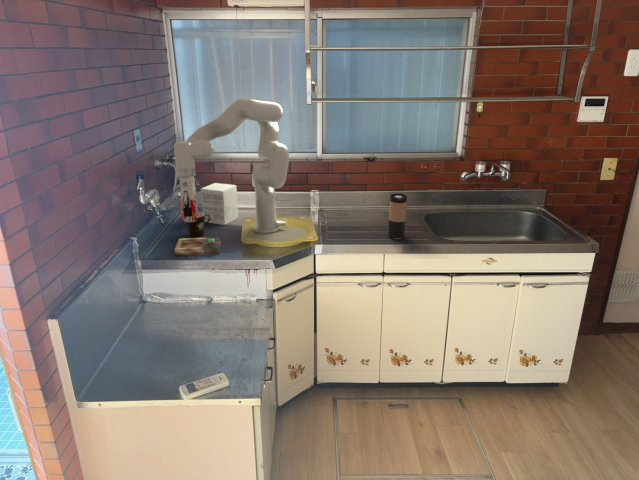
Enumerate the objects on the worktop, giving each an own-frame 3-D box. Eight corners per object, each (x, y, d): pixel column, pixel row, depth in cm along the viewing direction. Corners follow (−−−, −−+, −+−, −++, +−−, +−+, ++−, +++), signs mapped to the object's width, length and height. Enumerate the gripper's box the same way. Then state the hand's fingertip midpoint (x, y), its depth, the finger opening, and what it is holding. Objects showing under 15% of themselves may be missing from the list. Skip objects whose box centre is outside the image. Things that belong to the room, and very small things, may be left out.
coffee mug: (189, 239, 226) (187, 218, 222) (186, 233, 233) (184, 213, 230) (214, 236, 230) (213, 215, 226) (210, 230, 237) (209, 210, 234)
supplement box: (216, 214, 261) (214, 182, 255) (238, 217, 256) (237, 184, 250) (202, 222, 249) (199, 188, 243) (225, 225, 245) (223, 191, 239)
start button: (215, 246, 212) (215, 238, 211) (215, 249, 209) (214, 240, 208) (208, 247, 212) (207, 238, 211) (207, 249, 209) (206, 241, 208)
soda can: (194, 223, 205) (192, 195, 201) (178, 222, 206) (175, 194, 202) (201, 218, 212) (199, 191, 207) (186, 217, 213) (183, 190, 209)
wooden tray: (220, 243, 221) (220, 232, 219) (218, 254, 209) (217, 242, 207) (179, 244, 219) (178, 233, 217) (175, 255, 207) (173, 244, 205)
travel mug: (394, 233, 235) (397, 192, 228) (407, 237, 230) (410, 195, 223) (384, 237, 230) (386, 195, 223) (397, 241, 225) (400, 198, 218)
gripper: (192, 176, 194) (196, 219, 200) (197, 167, 210) (200, 207, 216) (173, 177, 193) (177, 220, 199) (179, 167, 209) (183, 208, 216)
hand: (189, 213), depth 208 cm, fingers closed on soda can, 7 cm apart
